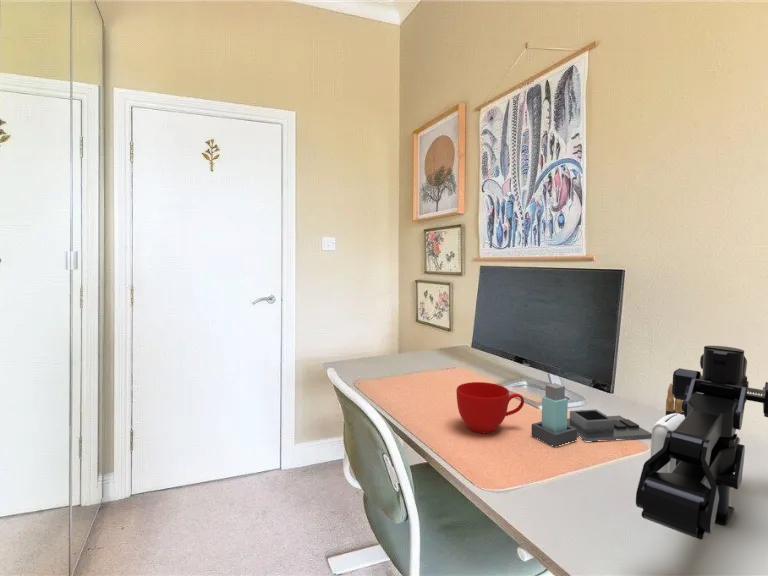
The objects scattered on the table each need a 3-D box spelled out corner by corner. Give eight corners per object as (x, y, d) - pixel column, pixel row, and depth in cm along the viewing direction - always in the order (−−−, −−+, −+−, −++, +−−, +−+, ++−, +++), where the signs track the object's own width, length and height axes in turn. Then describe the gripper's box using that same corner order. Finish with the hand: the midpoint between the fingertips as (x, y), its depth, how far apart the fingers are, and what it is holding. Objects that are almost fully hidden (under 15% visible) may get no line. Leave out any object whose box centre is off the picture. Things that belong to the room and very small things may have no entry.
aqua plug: (566, 440, 104) (568, 386, 103) (554, 443, 103) (556, 389, 101) (553, 433, 108) (554, 382, 107) (541, 437, 106) (542, 384, 105)
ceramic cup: (531, 439, 105) (532, 398, 104) (460, 438, 105) (460, 398, 105) (516, 418, 118) (516, 382, 117) (452, 418, 118) (453, 381, 117)
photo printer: (670, 464, 93) (673, 406, 92) (693, 472, 89) (697, 413, 88) (645, 478, 87) (648, 417, 86) (669, 487, 83) (672, 424, 82)
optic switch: (652, 438, 105) (653, 422, 105) (586, 442, 103) (586, 426, 103) (619, 419, 117) (620, 404, 117) (559, 422, 115) (559, 407, 114)
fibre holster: (576, 441, 104) (577, 428, 103) (555, 447, 100) (555, 435, 100) (552, 430, 110) (552, 418, 110) (531, 436, 107) (531, 424, 106)
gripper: (795, 367, 74) (799, 354, 85) (667, 349, 87) (685, 340, 98) (790, 431, 75) (795, 410, 86) (663, 404, 88) (682, 389, 99)
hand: (735, 384), depth 92 cm, fingers open, 9 cm apart
